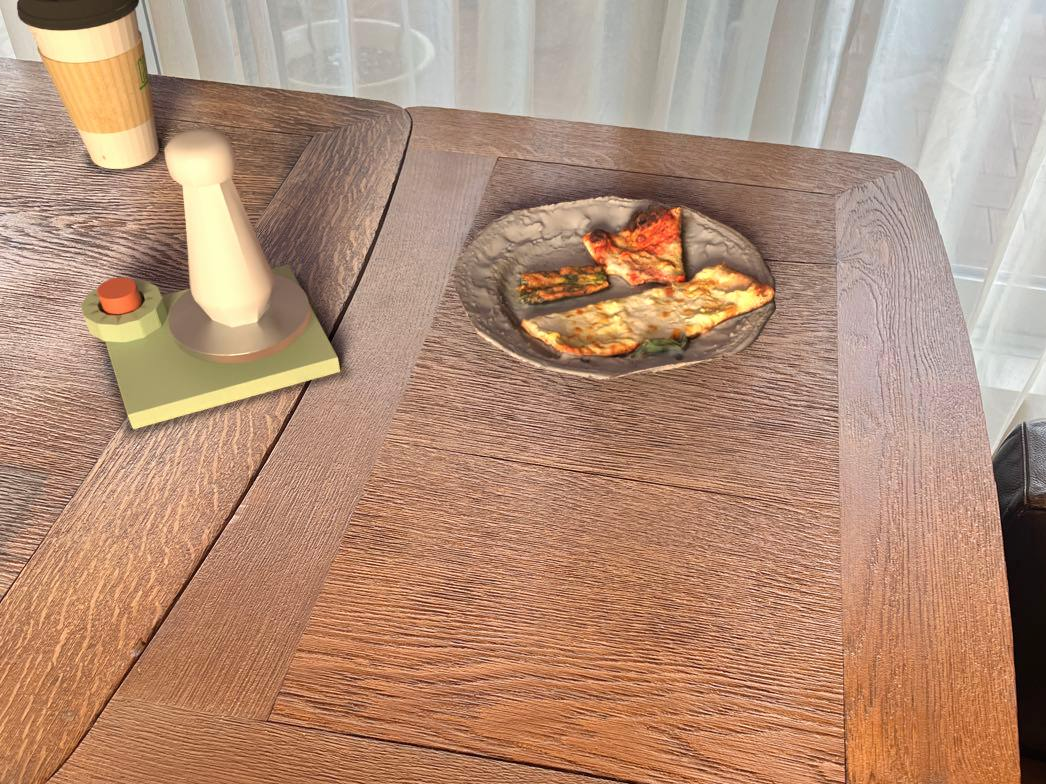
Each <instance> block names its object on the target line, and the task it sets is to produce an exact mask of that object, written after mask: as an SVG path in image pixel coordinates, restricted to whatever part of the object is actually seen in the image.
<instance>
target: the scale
mask: <svg viewBox="0 0 1046 784" xmlns="http://www.w3.org/2000/svg"><path fill="white" fill-rule="evenodd" d="M271 271H272V273H273V274H276V275H279V276H282V277H285V278H287V279H289V280H291V281H293V282H295V283H296V284H297V285H299V286H300V287H301V284H300V283H299V281H298V279H297V277H296V276H295V274H294V272H293V269H292V268H291V267H290V265H289V264H285V265H281V266H276V267H273V268H271ZM131 279H132V280H133V281H134V282H135V283H136V285H137V288H138V291H139V294H140V296H141V299H142V305H141V307H140V308H138V309H137V310H135V311H134V312H131V313H127V314H123V315H119V316H117V315H108V314H107V313H105V311H104V310H103V307H102V305H101V302H100V299H99V297H98V294H97V289H98V287H97V288H95V289H93V290H92V291H90V292H88V294H86V296H85V298H84V299H83V301H82V303H81V304H80V310H81V313H82V317H83V319H84V321H85V324H86V326H87V329H88V331H89V333H90V335H92V337H95V338H97V339H98V340H101V341H103V342H105V345H106V348H107V352H108V356H109V357H110V362H111V365H112V368H113V372H114V375H115V378H116V382H117V386H118V388H119V391H120V395H121V398H122V401H123V405H124V408H125V411H126V415H127V418H128V420H129V423H130V426H131V428H132V429H133V430H136V429H139V428H143V427H146V426H151V425H154V424H157V423H161V422H164V421H169V420H172V419H176V418H180V417H183V416H186V415H190V414H194V413H197V412H201V411H204V410H207V409H211V408H216V407H219V406H222V405H226V404H230V403H232V402H233V403H234V402H236V401H240V400H243V399H248V398H252V397H254V396H258V395H261V394H265V393H268V392H273V391H276V390H279V389H283V388H287V387H291V386H293V385H297V384H300V383H305V382H308V381H312V380H316V379H319V378H323V377H326V376H330V375H333V374H337V373H340V372H341V366H340V361H339V356H338V354H337V353H336V351H335V350H334V349H335V348H334V347H333V345H332V344H331V342H330V339H329V337H328V336H327V334H326V332H325V330H324V329H323V327H322V325H321V323H320V321H319V318H318V317H317V315H316V314H315V311H314V310H313V308H312V306H311V304H310V303H309V306H310V312H311V316H310V321H309V325H308V327H307V329H306V330H305V332H304V333H303V334H302V336H301V337H300V338H299V339H298V340H297V341H295V342H294V343H293V344H292V345H290V346H289V347H287V348H286V349H284V350H282V351H280V352H278V353H276V354H274V355H271V356H269V357H266V358H263V359H259V360H255V361H251V362H244V363H234V364H221V363H212V362H207V361H203V360H199V359H196V358H194V357H192V356H190V355H188V354H186V353H185V352H183V351H182V350H181V349H180V348H179V347H178V346H177V345H176V344H175V342H174V340H173V338H172V336H171V333H170V330H169V326H168V317H169V313H170V310H171V308H172V306H173V305H174V303H175V302H176V301H177V300H178V298H179V297H180V296H182V295H183V294H184V293H185V292H186V291H188V290H189V289H190V288H187V289H182V290H178V291H175V292H170V293H166V294H163V295H162V293H161V290H160V288H159V286H158V285H156V284H153V283H152V282H150V281H148V280H145V279H135V278H131Z"/></svg>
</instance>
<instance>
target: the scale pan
mask: <svg viewBox="0 0 1046 784" xmlns="http://www.w3.org/2000/svg"><path fill="white" fill-rule="evenodd" d="M273 276H274V283H275V284H274V288H273V293H272V297H271V301H270V306H269V308H268V309H267V311H266V312H265V313H264V314H263V316H262V317H261V318H260V319H259V321H258V322H255V323H251V324H246V325H242V326H237V327H232V328H231V327H229V326H227V325H224V324H222V323H219V322H217V321H214V320H212V319H211V318H210V317H209V315H208V314H207V313H206V312H205V311H204V310H203V309H202V308H201V307H200V305H199V304H198V303H197V302H196V301H195V299H194V297H193V295H192V292H191V288H188V289H189V290H188V291H186V292H185V293H184V294H183V295H182V296H180V297H179V298H178V300H177V301H176V302H175V303H174V305H173V306H172V308H171V310H170V313H169V317H168V326H169V330H170V333H171V336H172V338H173V340H174V342H175V344H176V345H177V346H178V347H179V348H180V349H181V350H182V351H183V352H185V353H186V354H188V355H190V356H192V357H194V358H196V359H199V360H203V361H207V362H212V363H221V364H234V363H244V362H251V361H255V360H259V359H263V358H266V357H269V356H271V355H274V354H276V353H278V352H280V351H282V350H284V349H286V348H287V347H289V346H290V345H292V344H293V343H294V342H295V341H297V340H298V339H299V338H300V337H301V336H302V334H303V333H304V332H305V330H306V329H307V327H308V325H309V321H310V316H311V312H310V306H311V305H310V306H309V304H310V301H309V298H308V296H307V293H306V291H304V288H302V287H301V285H300V284H299V285H300V286H299V285H297V284H296V283H295V282H293V281H291V280H289V279H287V278H285V277H282V276H279V275H276V274H273Z"/></svg>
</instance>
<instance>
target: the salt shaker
mask: <svg viewBox="0 0 1046 784" xmlns="http://www.w3.org/2000/svg"><path fill="white" fill-rule="evenodd" d="M229 139H230V138H229V137H227V136H226V135H224V134H222V133H221V132H219V131H217V130H216V129H209V128H193V129H192V128H191V129H189V130H185V131H181V132H179V133H177V134H176V135H175V136H172V137H171V138H170V139H169V140H168V142H167V144H166V145H165V147H164V150H163V151H164V160H165V162H166V167H167V170H168V172H169V175H170V177H171V178H172V180H173V181H174V182H176V183H177V184H179V185H181V186H182V194H183V206H184V218H185V233H186V248H187V263H188V264H187V265H188V267H187V268H188V281H189V289H191V292H192V295H193V297H194V299H195V301H196V302H197V303H198V304H199V305H200V307H201V308H202V309H203V310H204V311H205V312H206V313H207V314H208V315H209V317H210V318H211V319H212V320H214V321H217V322H219V323H222V324H224V325H227V326H229V327H231V328H232V327H237V326H242V325H246V324H251V323H255V322H258V321H259V319H260V318H261V317H262V316H263V314H264V313H265V312H266V311H267V309H268V308H269V306H270V301H271V297H272V293H273V288H274V284H275V283H274V276H273V273H272V271H271V269H272V268H271V266H270V264H269V261H268V259H267V257H266V254H265V253H264V250H263V248H262V246H261V243H260V241H259V238H258V237H257V234H256V231H255V230H254V227H253V225H252V223H251V220H250V217H249V216H248V213H247V211H246V208H245V207H244V204H243V202H242V199H241V196H240V195H239V192H238V190H237V187H236V185H235V183H234V180H233V178H232V177H233V175H234V174H235V172H236V170H237V158H236V153H235V150H234V148H233V147H232V144H231V141H230V140H229Z"/></svg>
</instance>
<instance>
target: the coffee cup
mask: <svg viewBox="0 0 1046 784" xmlns="http://www.w3.org/2000/svg"><path fill="white" fill-rule="evenodd" d="M139 4H140V0H17V2H16V10H17V16H18V18H19V21H20V22H22V23H23V24H25V25H27V26H28V28H29V30H30V33H31V34H32V36H33V39H34V41H35V43H36V45H37V46H36V47H37V52H38V54H39V56H40V59H41V60H42V62H43V65H44V66H45V69H46V71H47V73H48V75H49V77H50V79H51V81H52V83H53V85H54V87H55V90H56V92H57V93H58V95H59V98H60V100H61V102H62V104H63V106H64V108H65V110H66V112H67V115H68V117H69V118H70V120H71V123H72V124H73V126H74V127H75V128H76V129H77V131H78V133H79V136H80V138H81V140H82V142H83V144H84V146H85V148H86V151H87V153H88V155H89V157H90V158H91V160H92V162H93V164H95V165H97V166H99V167H102V168H105V169H111V170H113V169H114V170H120V169H121V170H123V169H129V168H133V167H138V166H140V165H141V166H142V165H143V164H145V163H148V162H150V161H151V160H152V159H154V158H155V157H156V156H157V155H158V153H159V150H160V145H159V139H158V135H157V128H156V123H155V117H154V113H155V107H154V103H153V96H152V90H151V82H150V78H149V71H148V65H147V60H146V58H147V57H146V53H145V48H144V41H143V35H142V31H141V30H140V28H139V22H138V21H139V20H138V16H137V10H136V8H138V6H139Z"/></svg>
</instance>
